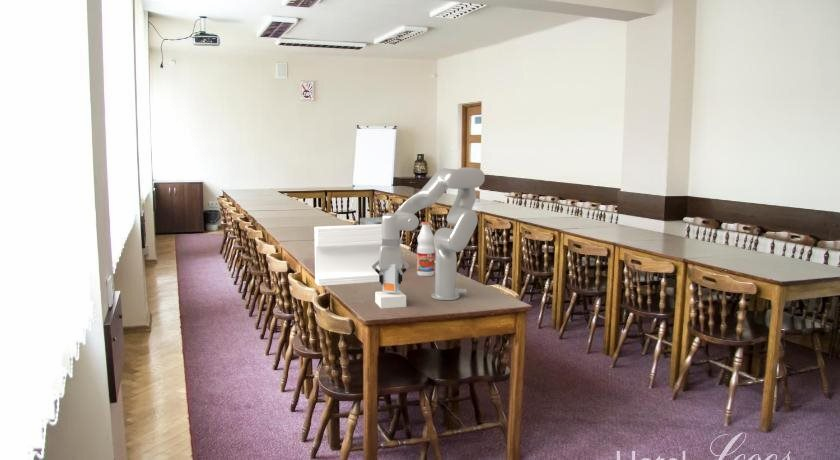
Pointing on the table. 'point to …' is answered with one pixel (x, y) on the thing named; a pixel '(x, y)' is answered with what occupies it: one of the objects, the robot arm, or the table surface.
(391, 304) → the stacking block
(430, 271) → the white plastic bottle
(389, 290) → the skincare box
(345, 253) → the white upright panel
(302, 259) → the table surface
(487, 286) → the table surface
